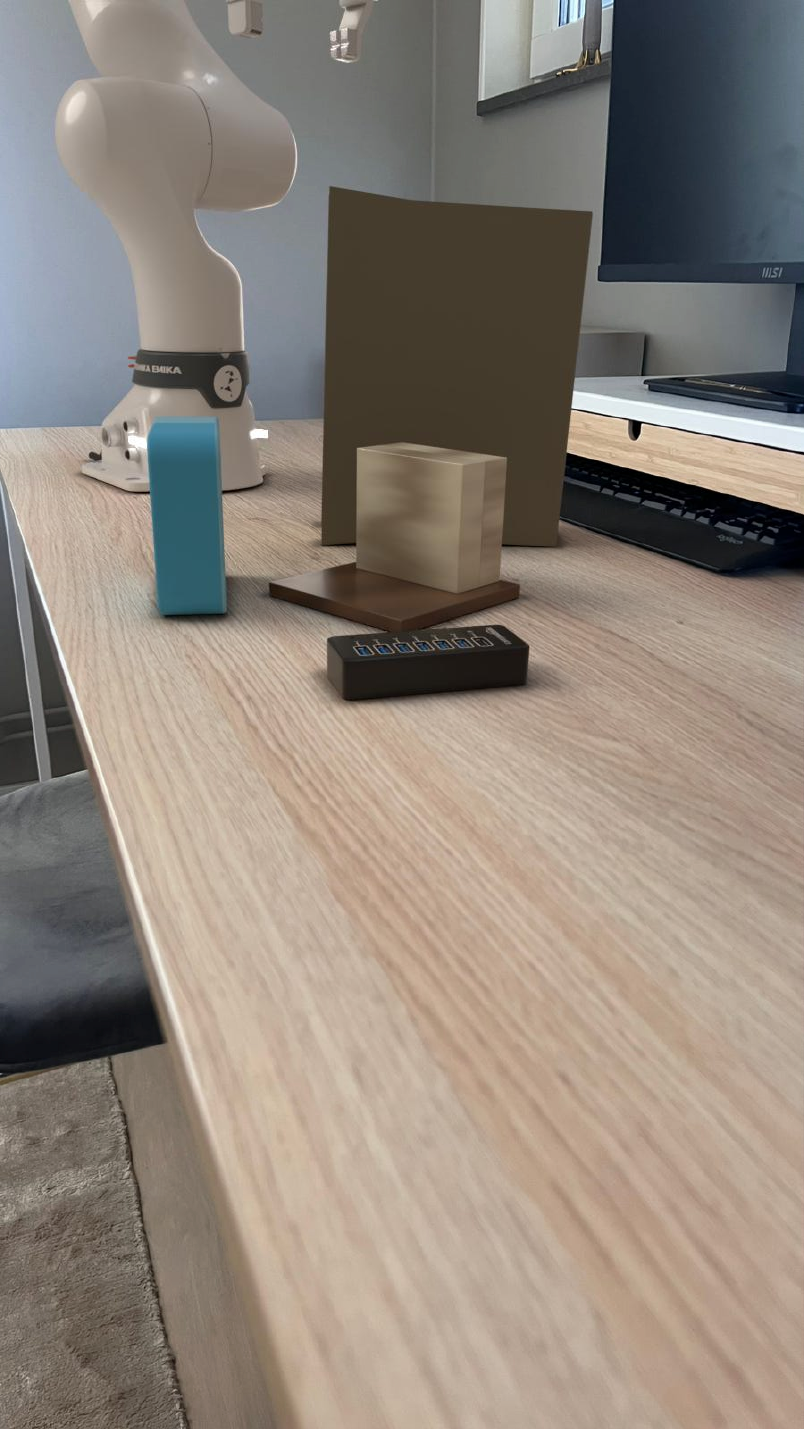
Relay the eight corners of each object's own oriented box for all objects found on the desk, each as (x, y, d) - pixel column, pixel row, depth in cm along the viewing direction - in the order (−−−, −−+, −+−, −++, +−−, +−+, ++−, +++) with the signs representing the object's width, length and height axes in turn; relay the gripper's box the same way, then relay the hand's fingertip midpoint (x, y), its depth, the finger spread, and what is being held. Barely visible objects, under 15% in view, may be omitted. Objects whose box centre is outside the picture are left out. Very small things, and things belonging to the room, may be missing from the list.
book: (542, 530, 100) (576, 211, 90) (563, 553, 92) (603, 203, 81) (321, 522, 99) (328, 196, 88) (321, 545, 90) (329, 186, 79)
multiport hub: (325, 673, 60) (325, 635, 59) (500, 659, 63) (502, 623, 62) (343, 700, 56) (344, 660, 55) (529, 684, 59) (532, 645, 58)
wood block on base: (268, 595, 75) (265, 455, 71) (389, 565, 84) (392, 439, 80) (401, 635, 67) (405, 479, 63) (519, 597, 76) (529, 459, 72)
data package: (165, 575, 80) (155, 414, 75) (225, 574, 80) (218, 414, 76) (158, 621, 69) (145, 436, 64) (227, 619, 69) (219, 436, 65)
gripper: (367, -140, 76) (367, 78, 81) (132, -246, 61) (150, 27, 67) (433, -163, 72) (429, 68, 77) (198, -282, 58) (212, 10, 63)
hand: (298, 48), depth 72 cm, fingers open, 8 cm apart
